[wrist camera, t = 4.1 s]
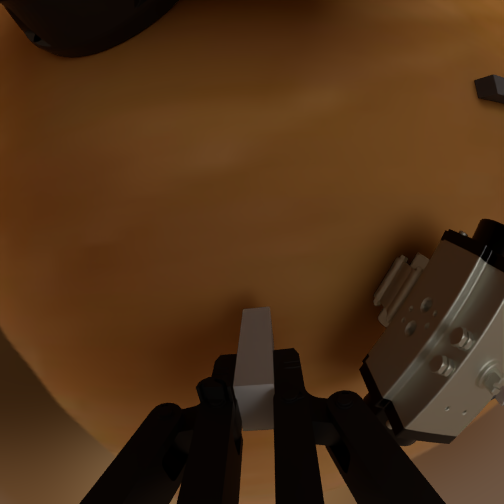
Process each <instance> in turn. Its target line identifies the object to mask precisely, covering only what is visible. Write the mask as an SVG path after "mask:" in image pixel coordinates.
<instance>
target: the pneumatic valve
mask: <svg viewBox="0 0 504 504" xmlns="http://www.w3.org/2000/svg"><path fill="white" fill-rule="evenodd" d="M407 260H408V258H407V257H405V256H403V255H401V257H399V258H398V257H396V259H395V261H394V263H393V264H392V266H391V268H390V269H389V271H388V273H387V274H386V276H385V278H384V279H383V281H382V283H381V284H380V286H379V287H378V289H377V291H376V292H375V294H374V297H375V299H374V301H373V302H374V305H375V306H380V304H382V305H383V307H384V308H383V309H382V311H381V312H380V314H379V316H378V320H379V322H380V323H381V324H382V325H383V326H385V327H386V330H385V331H384V333H383V334H382V335H381V337H380V338H379V340H378V341H377V342H376V344H375V345H374V346H373V348H372V349H371V350H370V352H369V353H368V354H367V356H366V357H365V358H364V359H363V361H362V362H363V365H362V366H361V368H360V369H359V370H360V372H361V375H362V377H363V380H364V382H365V384H366V387H367V389H368V391H369V393H368V394H367V395H366V396H365V397H364V399H363V401H364V402H365V403H366V404H367V406H368V407H369V408H370V409H371V411H372V412H373V413H374V414H375V416H376V417H377V418H378V420H379V421H380V422H381V423H382V425H383V426H384V427H385V428H386V430H387V431H388V432H389V433H390V435H391V436H392V437H393V438H394V440H395V441H396V442H397V443H398V445H399V446H409V445H411V444H413V443H414V442H415V441H416V440H418V441H426V442H435V443H446V444H449V443H450V442H451V441H453V440H454V439H455V438H456V437H457V436H458V435H459V434H460V433H461V432H462V431H463V430H464V429H465V428H466V427H467V426H468V425H469V424H470V422H471V421H472V420H473V419H474V418H475V417H476V416H477V415H478V414H479V413H480V412H481V410H482V409H483V408H484V407H485V406H486V405H487V403H488V402H489V401H490V400H491V399H492V397H493V396H494V395H497V394H498V393H499V392H500V388H501V386H504V225H503V224H501V223H499V222H497V221H494V220H490V219H482V220H480V222H479V224H478V227H477V229H476V231H475V233H474V235H473V237H472V238H469V237H468V235H467V234H466V233H464V232H463V231H459V233H457V232H455V231H453V230H450V229H449V231H446V230H445V232H444V234H443V236H442V238H441V240H440V242H439V244H438V246H437V248H436V249H435V251H434V253H433V255H432V257H431V258H430V259H428V258H427V257H425V256H423V255H422V254H420V253H419V252H418V253H417V254H416V255H415V257H414V259H413V261H412V262H411V264H410V265H409V264H407Z"/></svg>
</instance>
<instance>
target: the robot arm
mask: <svg viewBox="0 0 504 504" xmlns="http://www.w3.org/2000/svg"><path fill="white" fill-rule="evenodd" d="M178 1H179V0H0V3H1V4H2V5H3V6H4V7H5V9H6V10H7V11H8V13H9V14H10V15H11V17H12V18H13V19H14V20H15V22H16V23H17V24H18V26H19V27H20V28H21V29H22V30H23V31H24V32H25V34H26V36H27V37H28V39H29V40H30V41H31V42H32V43H33V44H35V45H36V46H37V47H39V48H41V49H44V50H46V51H48V52H51V53H53V54H55V55H58V56H63V57H80V56H86V55H90V54H94V53H97V52H100V51H103V50H106V49H108V48H111V47H113V46H115V45H117V44H119V43H121V42H123V41H125V40H127V39H129V38H131V37H132V36H134V35H136V34H137V33H139V32H141V31H142V30H144V29H145V28H147V27H148V26H149V25H151V24H152V23H154V22H155V21H156V20H157V19H159V18H160V17H161V16H162V15H164V14H165V13H166V12H167V11H168V10H169V9H170V8H172V7H173V6H174V5H175V4H176V3H177V2H178ZM196 390H197V393H198V396H199V399H200V404H199V405H197V406H194V407H190V408H186V409H181V408H180V407H179V406H178V405H176V404H174V403H164V404H160V405H158V406H156V407H155V408H154V409H153V410H152V411H151V412H150V414H149V415H148V416H147V418H146V419H145V420H144V421H143V423H142V424H141V425H140V427H139V428H138V429H137V431H136V432H135V433H134V435H133V436H132V437H131V438H130V440H129V441H128V442H127V444H126V445H125V446H124V447H123V449H122V450H121V451H120V453H119V454H118V455H117V457H116V458H115V459H114V460H113V462H112V463H111V464H110V466H109V467H108V468H107V469H106V471H105V472H104V473H103V474H102V476H101V477H100V478H99V480H98V481H97V482H96V483H95V485H94V486H93V487H92V488H91V490H90V491H89V492H88V493H87V495H86V496H85V497H84V499H83V500H82V501H81V502H80V504H169V503H170V502H171V500H172V498H173V496H174V495H175V493H176V491H177V489H178V488H179V486H180V484H181V487H180V491H179V496H178V500H177V504H239V490H240V476H241V462H242V447H243V438H242V434H241V430H242V428H243V431H252V430H268V429H274V450H275V499H276V504H324V499H323V491H322V484H321V477H320V471H319V464H318V457H317V451H316V444H317V445H325V446H326V449H327V450H328V452H329V454H330V456H331V458H332V460H333V461H334V463H335V465H336V467H337V468H338V470H339V472H340V474H341V476H342V477H343V479H344V481H345V483H346V484H347V486H348V488H349V490H350V491H351V493H352V495H353V497H354V498H355V500H356V502H357V504H446V503H445V502H444V501H443V500H442V498H441V497H440V496H439V495H438V493H437V492H436V491H435V490H434V488H433V487H432V486H431V485H430V483H429V482H428V481H427V480H426V478H425V477H424V476H423V475H422V474H421V472H420V471H419V470H418V468H417V467H416V466H415V465H414V464H413V462H412V461H411V460H410V458H409V457H408V456H407V455H406V453H405V452H404V451H403V450H402V448H401V447H400V446H399V445H398V443H397V442H396V441H395V440H394V438H393V437H392V436H391V435H390V433H389V432H388V431H387V430H386V428H385V427H384V426H383V425H382V423H381V422H380V421H379V420H378V418H377V417H376V416H375V414H374V413H373V412H372V411H371V409H370V408H369V407H368V406H367V404H366V403H365V402H364V401H363V399H362V398H361V397H360V396H359V395H358V394H357V393H355V392H352V391H345V390H343V391H338V392H336V393H334V394H332V395H331V396H330V397H329V398H328V399H326V398H318V397H314V396H312V395H310V394H309V393H308V392H307V391H306V389H305V386H304V381H303V375H302V369H301V364H300V358H299V353H298V352H297V351H296V350H295V349H294V348H290V349H280V350H274V341H273V332H272V323H271V313H270V307H260V308H250V309H243V313H242V321H241V329H240V337H239V344H238V352H237V354H228V355H220V356H219V357H218V359H217V360H216V361H215V364H214V370H213V373H212V377H208V378H206V379H203V380H202V381H200V382H199V383H198V385H197V386H196Z"/></svg>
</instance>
